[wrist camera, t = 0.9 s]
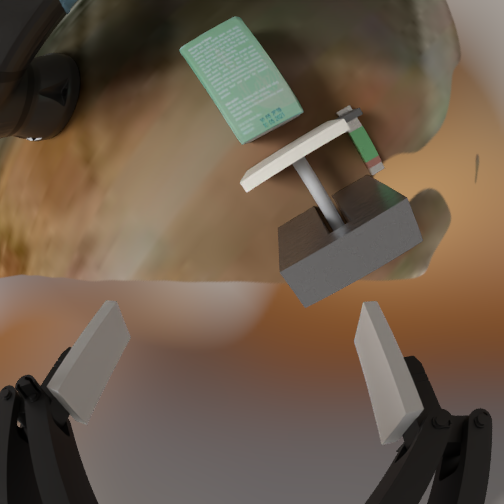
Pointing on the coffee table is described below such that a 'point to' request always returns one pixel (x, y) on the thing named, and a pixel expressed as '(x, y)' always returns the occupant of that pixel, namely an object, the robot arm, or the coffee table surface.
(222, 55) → the box
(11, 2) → the robot arm
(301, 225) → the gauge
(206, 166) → the coffee table surface
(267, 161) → the plunger
